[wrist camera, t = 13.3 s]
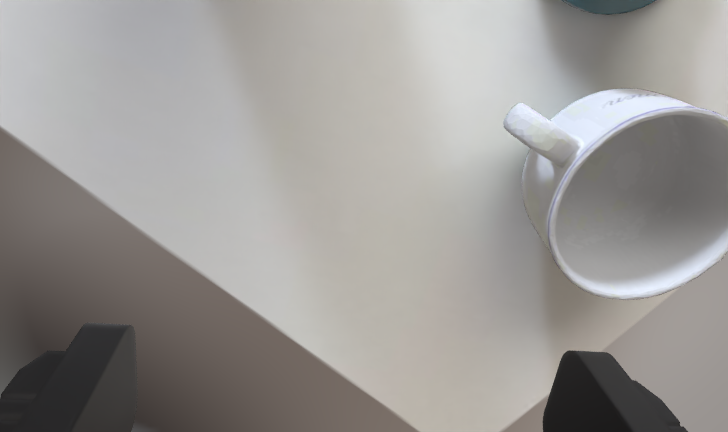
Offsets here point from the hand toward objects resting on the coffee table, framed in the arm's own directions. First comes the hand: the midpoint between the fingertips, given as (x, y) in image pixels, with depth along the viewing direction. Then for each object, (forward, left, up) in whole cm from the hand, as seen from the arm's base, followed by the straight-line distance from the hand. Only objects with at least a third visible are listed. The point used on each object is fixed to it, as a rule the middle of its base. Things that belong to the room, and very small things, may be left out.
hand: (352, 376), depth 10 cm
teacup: (+1, +15, -24) cm, 29 cm away
